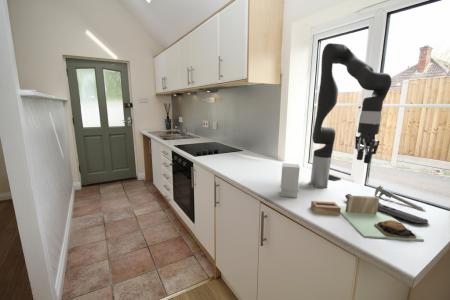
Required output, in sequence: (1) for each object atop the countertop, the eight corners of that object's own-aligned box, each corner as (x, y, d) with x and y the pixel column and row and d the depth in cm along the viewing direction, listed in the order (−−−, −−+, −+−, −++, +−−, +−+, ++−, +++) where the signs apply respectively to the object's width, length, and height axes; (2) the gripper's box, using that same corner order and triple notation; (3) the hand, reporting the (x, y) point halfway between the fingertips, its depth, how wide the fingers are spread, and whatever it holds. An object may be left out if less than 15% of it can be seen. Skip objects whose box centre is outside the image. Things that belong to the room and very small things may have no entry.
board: (374, 212, 95) (345, 210, 96) (376, 196, 94) (347, 195, 94) (376, 214, 94) (347, 212, 94) (379, 198, 92) (349, 196, 93)
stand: (310, 207, 99) (311, 200, 98) (333, 208, 99) (334, 202, 98) (315, 213, 93) (316, 206, 93) (339, 214, 93) (340, 208, 92)
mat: (334, 206, 101) (334, 205, 100) (379, 209, 100) (379, 207, 100) (363, 237, 77) (363, 235, 77) (423, 241, 76) (423, 239, 76)
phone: (333, 179, 137) (313, 172, 150) (333, 181, 137) (313, 174, 150) (341, 178, 140) (322, 171, 153) (341, 180, 140) (322, 173, 153)
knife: (351, 191, 112) (430, 217, 89) (350, 195, 112) (428, 222, 90) (343, 194, 106) (425, 223, 84) (343, 198, 107) (424, 228, 84)
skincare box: (296, 193, 114) (299, 164, 111) (297, 198, 108) (300, 167, 105) (279, 191, 116) (282, 162, 113) (279, 196, 110) (282, 165, 107)
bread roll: (386, 237, 77) (387, 227, 76) (372, 224, 85) (373, 215, 84) (418, 239, 76) (421, 229, 75) (401, 226, 84) (403, 217, 83)
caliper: (374, 196, 116) (376, 184, 114) (375, 195, 116) (377, 184, 115) (424, 212, 99) (428, 199, 98) (425, 211, 100) (428, 198, 99)
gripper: (351, 120, 101) (346, 157, 104) (370, 123, 87) (363, 165, 90) (368, 121, 100) (362, 158, 104) (390, 124, 86) (382, 166, 90)
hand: (363, 161), depth 97 cm, fingers open, 5 cm apart
